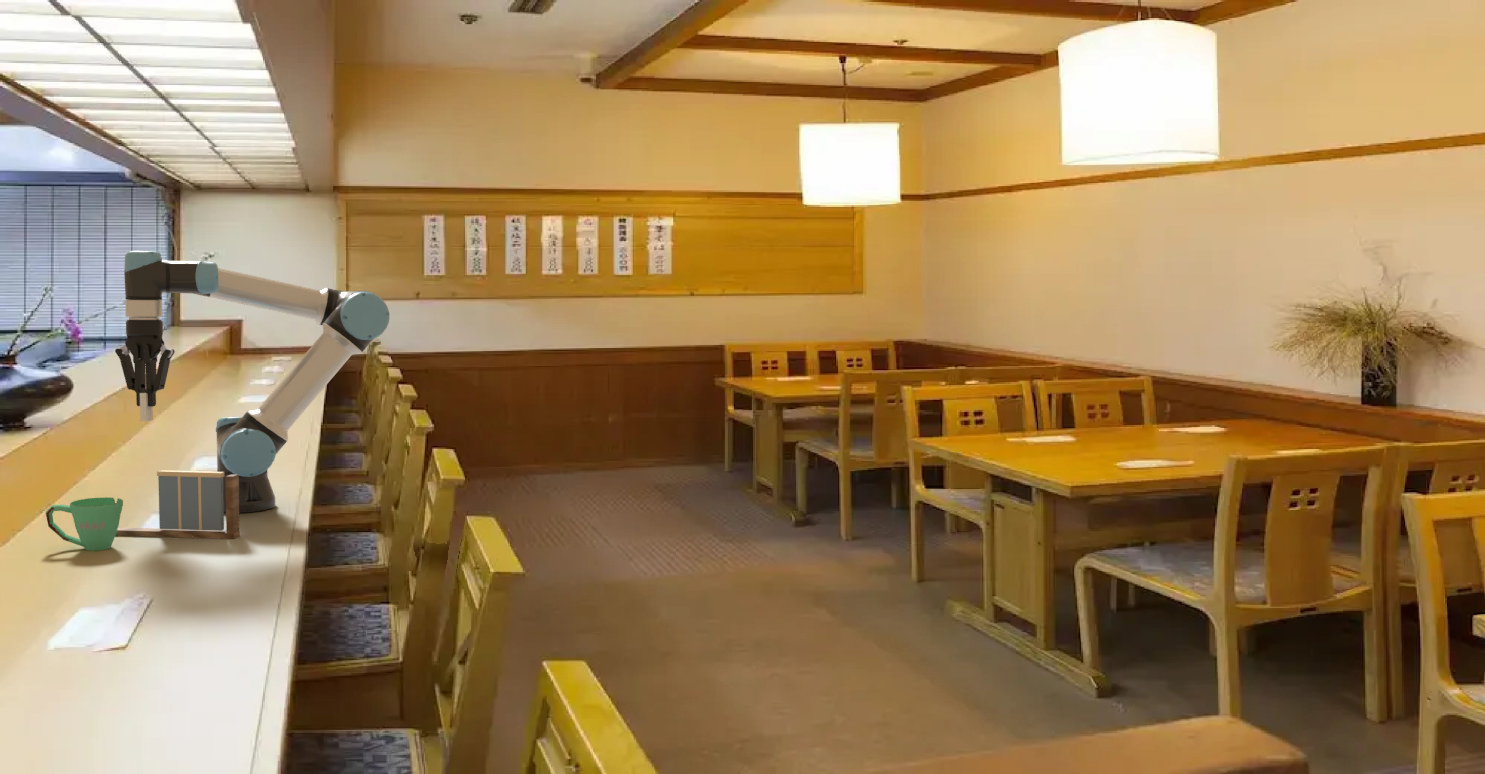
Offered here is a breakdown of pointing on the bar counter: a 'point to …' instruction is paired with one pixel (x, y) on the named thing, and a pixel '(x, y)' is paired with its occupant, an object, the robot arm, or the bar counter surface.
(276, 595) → the bar counter surface
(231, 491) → the brown wooden rack
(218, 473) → the panel
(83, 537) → the mug
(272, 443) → the robot arm
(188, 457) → the bar counter surface
